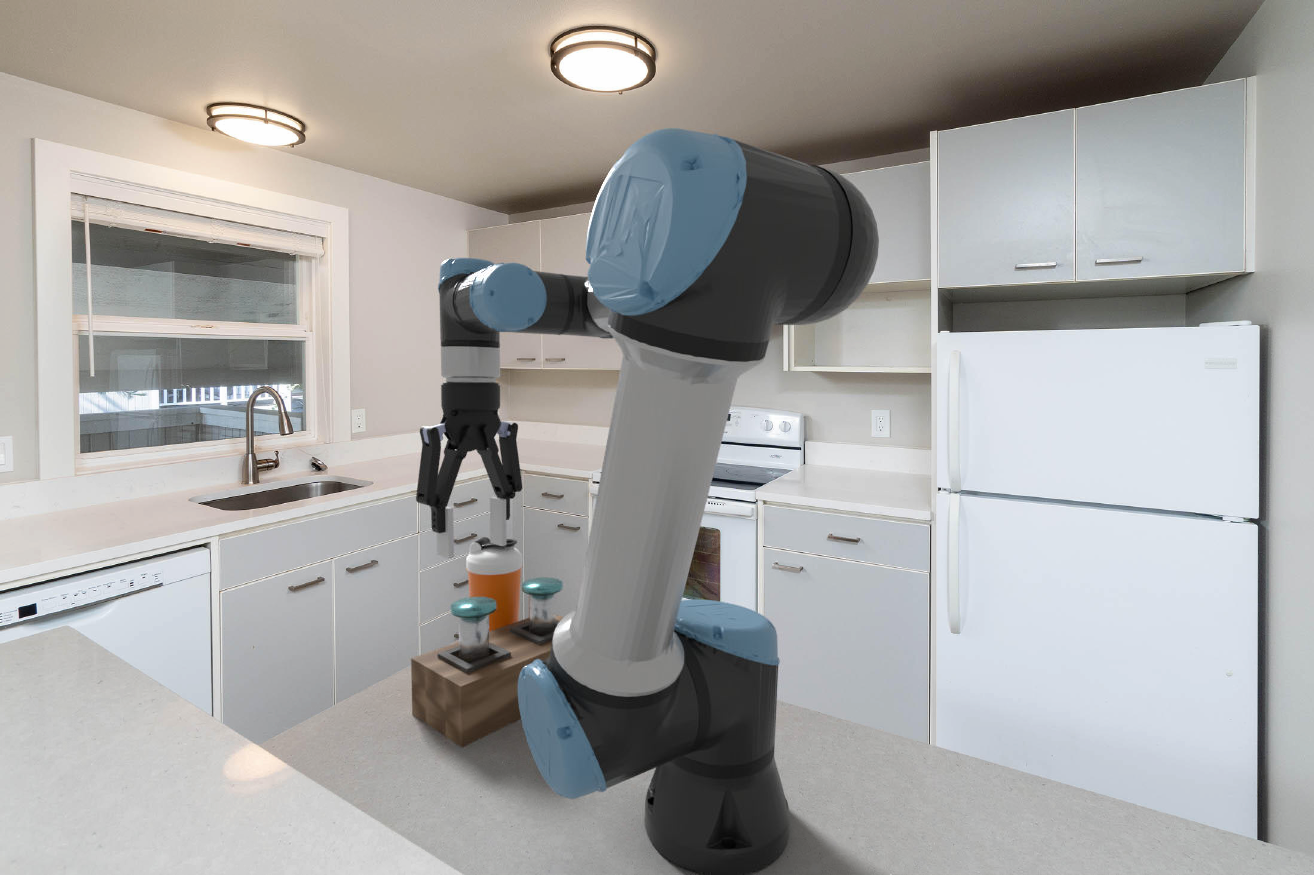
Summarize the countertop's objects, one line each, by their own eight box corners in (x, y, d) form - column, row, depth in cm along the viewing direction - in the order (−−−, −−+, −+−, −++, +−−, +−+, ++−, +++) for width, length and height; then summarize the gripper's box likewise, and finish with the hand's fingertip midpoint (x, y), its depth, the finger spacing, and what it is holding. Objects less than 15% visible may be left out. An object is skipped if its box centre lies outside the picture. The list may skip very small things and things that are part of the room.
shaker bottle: (516, 672, 102) (515, 548, 100) (460, 670, 102) (458, 547, 100) (528, 648, 111) (527, 534, 109) (476, 647, 111) (475, 533, 109)
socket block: (598, 680, 99) (598, 626, 99) (461, 747, 81) (460, 681, 80) (547, 658, 107) (547, 607, 106) (412, 714, 89) (411, 654, 88)
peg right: (570, 640, 98) (570, 583, 98) (539, 652, 94) (539, 593, 93) (545, 629, 102) (545, 574, 101) (514, 641, 98) (513, 583, 97)
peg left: (505, 666, 89) (505, 603, 89) (468, 681, 85) (467, 615, 84) (480, 653, 93) (479, 593, 92) (443, 667, 89) (441, 604, 88)
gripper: (516, 380, 95) (516, 532, 98) (381, 379, 80) (386, 559, 82) (549, 381, 91) (549, 540, 93) (413, 380, 75) (417, 572, 77)
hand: (472, 549), depth 87 cm, fingers open, 8 cm apart
